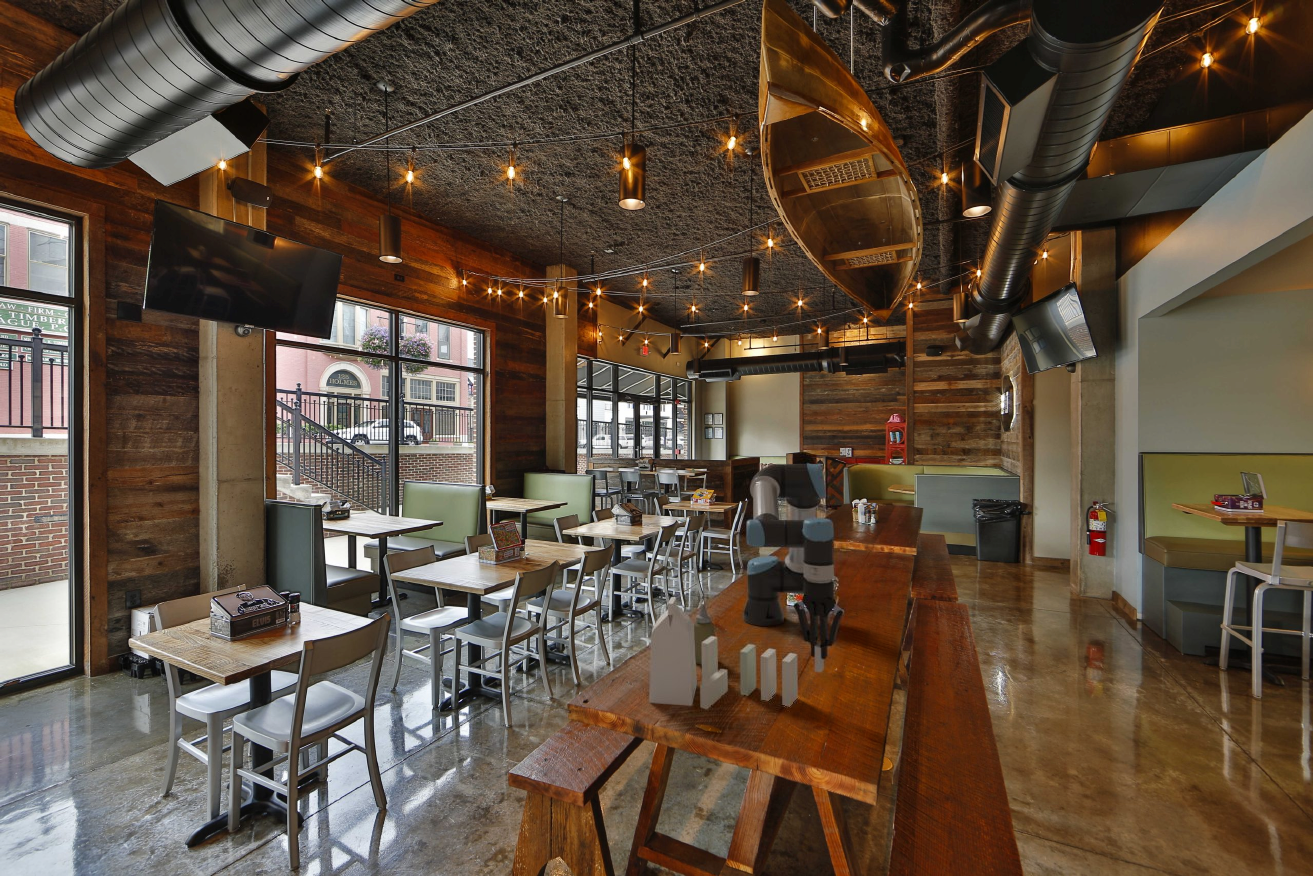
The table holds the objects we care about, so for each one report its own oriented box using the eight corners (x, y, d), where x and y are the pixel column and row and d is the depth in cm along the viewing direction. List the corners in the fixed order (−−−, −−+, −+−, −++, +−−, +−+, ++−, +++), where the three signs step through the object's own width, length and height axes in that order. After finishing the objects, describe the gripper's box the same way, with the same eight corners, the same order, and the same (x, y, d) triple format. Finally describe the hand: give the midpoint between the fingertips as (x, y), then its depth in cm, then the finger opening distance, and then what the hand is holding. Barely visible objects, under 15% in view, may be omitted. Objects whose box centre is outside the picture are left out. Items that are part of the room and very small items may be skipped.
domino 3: (740, 694, 157) (740, 651, 157) (749, 686, 162) (749, 643, 162) (747, 696, 156) (746, 652, 156) (756, 687, 161) (755, 645, 161)
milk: (656, 682, 165) (655, 593, 164) (696, 685, 163) (695, 594, 162) (649, 702, 153) (647, 606, 152) (691, 705, 151) (690, 608, 151)
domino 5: (782, 706, 150) (782, 660, 150) (790, 696, 155) (790, 652, 155) (789, 708, 149) (789, 662, 149) (797, 698, 154) (797, 654, 154)
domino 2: (721, 689, 160) (700, 708, 150) (720, 668, 160) (700, 685, 150) (727, 691, 159) (707, 710, 149) (727, 670, 159) (706, 687, 149)
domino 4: (761, 700, 154) (760, 655, 153) (769, 691, 159) (769, 648, 158) (768, 702, 152) (767, 657, 152) (776, 693, 157) (776, 649, 157)
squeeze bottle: (696, 668, 174) (695, 609, 174) (687, 658, 182) (686, 601, 181) (720, 665, 176) (720, 607, 176) (711, 655, 184) (710, 599, 183)
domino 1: (702, 684, 163) (701, 642, 163) (711, 676, 168) (711, 636, 168) (708, 686, 162) (707, 644, 162) (717, 678, 167) (717, 637, 167)
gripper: (789, 579, 147) (789, 669, 148) (840, 586, 140) (840, 681, 141) (798, 572, 154) (799, 659, 154) (848, 579, 147) (849, 670, 147)
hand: (819, 670), depth 148 cm, fingers closed
